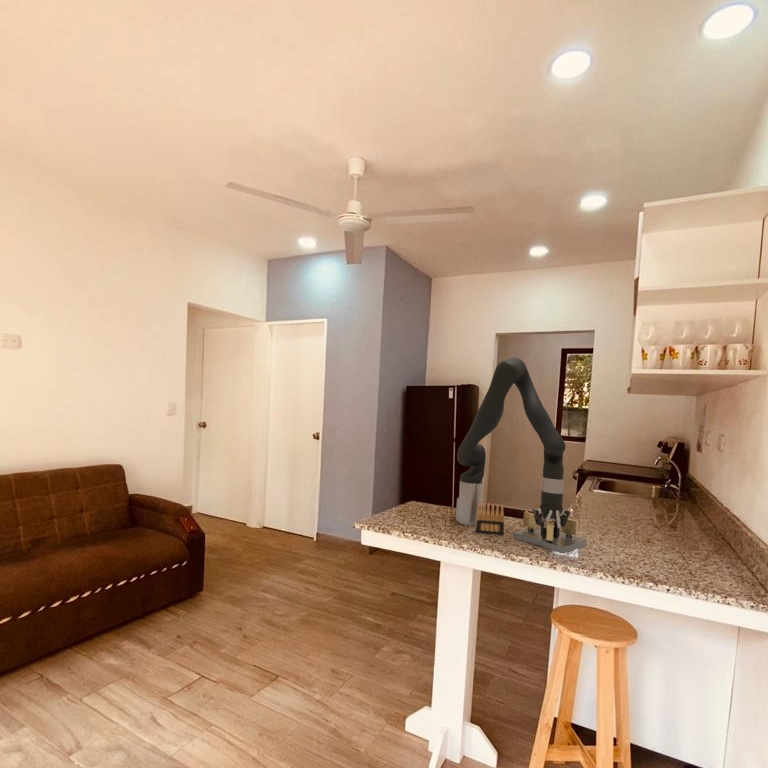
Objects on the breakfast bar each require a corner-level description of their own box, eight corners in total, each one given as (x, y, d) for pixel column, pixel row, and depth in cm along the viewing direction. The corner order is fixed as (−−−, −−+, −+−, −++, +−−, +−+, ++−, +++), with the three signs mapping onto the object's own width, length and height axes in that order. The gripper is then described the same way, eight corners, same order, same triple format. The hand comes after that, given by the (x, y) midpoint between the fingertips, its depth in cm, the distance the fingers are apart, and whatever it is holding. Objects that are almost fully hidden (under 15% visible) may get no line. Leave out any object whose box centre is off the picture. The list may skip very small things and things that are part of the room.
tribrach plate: (513, 537, 167) (514, 513, 168) (537, 530, 179) (538, 508, 180) (563, 553, 152) (564, 526, 153) (586, 545, 164) (587, 520, 165)
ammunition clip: (475, 533, 170) (477, 502, 171) (475, 531, 172) (476, 501, 173) (503, 535, 170) (505, 504, 170) (502, 534, 171) (504, 503, 172)
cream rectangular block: (575, 538, 165) (576, 519, 165) (560, 535, 168) (561, 516, 168) (577, 537, 166) (578, 518, 167) (562, 534, 170) (563, 515, 170)
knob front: (546, 543, 156) (547, 523, 156) (546, 539, 161) (547, 519, 162) (552, 544, 155) (553, 524, 156) (552, 540, 161) (553, 520, 161)
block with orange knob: (535, 532, 169) (536, 514, 170) (523, 528, 174) (523, 510, 174) (538, 531, 171) (539, 513, 171) (526, 528, 175) (526, 510, 175)
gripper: (539, 492, 155) (536, 541, 154) (576, 493, 157) (573, 541, 156) (529, 487, 162) (526, 534, 161) (564, 488, 164) (562, 534, 164)
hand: (549, 537), depth 159 cm, fingers open, 4 cm apart
